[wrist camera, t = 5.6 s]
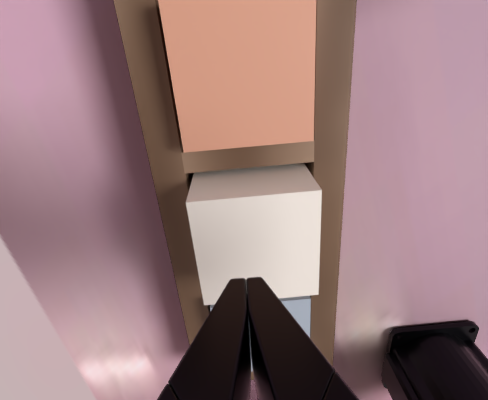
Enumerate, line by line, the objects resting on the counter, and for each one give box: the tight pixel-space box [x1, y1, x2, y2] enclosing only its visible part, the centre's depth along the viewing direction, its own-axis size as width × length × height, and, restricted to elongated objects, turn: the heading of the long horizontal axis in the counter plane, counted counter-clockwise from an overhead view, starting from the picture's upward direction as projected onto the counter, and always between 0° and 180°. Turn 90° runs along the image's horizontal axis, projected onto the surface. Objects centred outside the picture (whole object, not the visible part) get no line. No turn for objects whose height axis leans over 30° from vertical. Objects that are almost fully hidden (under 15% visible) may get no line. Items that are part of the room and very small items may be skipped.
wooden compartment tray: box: [114, 0, 357, 380], centre depth 17 cm, size 9×24×3 cm, turn 5°
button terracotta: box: [158, 0, 316, 153], centre depth 13 cm, size 5×5×4 cm
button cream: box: [186, 163, 322, 305], centre depth 15 cm, size 5×5×4 cm
